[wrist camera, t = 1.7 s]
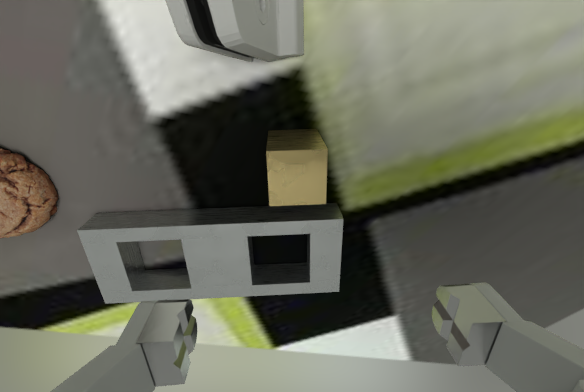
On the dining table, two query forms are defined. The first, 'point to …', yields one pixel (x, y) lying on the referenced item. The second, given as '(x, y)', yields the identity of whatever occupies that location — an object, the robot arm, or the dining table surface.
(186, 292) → the grey shape sorter tray
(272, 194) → the wood grain block
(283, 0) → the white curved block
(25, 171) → the cookie
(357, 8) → the dining table surface
